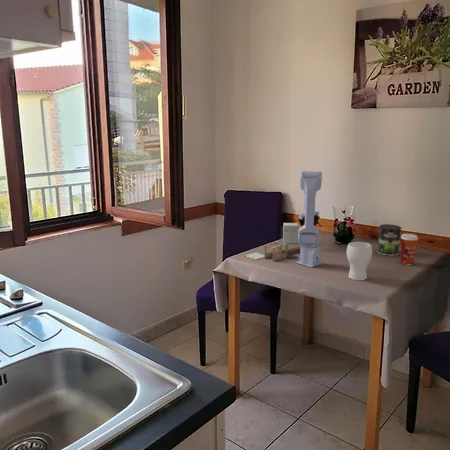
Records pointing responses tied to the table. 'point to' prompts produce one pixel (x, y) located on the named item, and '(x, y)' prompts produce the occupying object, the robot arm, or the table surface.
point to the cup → (358, 259)
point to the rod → (292, 250)
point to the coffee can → (389, 239)
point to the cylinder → (278, 250)
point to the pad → (255, 256)
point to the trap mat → (292, 256)
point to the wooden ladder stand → (271, 254)
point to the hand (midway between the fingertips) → (308, 230)
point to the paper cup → (408, 248)
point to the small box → (290, 233)
